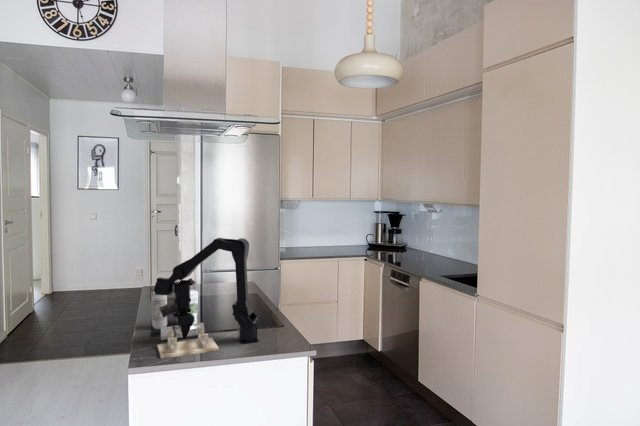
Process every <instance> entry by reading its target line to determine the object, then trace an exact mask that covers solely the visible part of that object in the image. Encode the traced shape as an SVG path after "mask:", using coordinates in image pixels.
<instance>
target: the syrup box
mask: <svg viewBox="0 0 640 426" xmlns="http://www.w3.org/2000/svg"><path fill="white" fill-rule="evenodd" d="M190 298H191V302H190V309H191V312H188V313H191V314H193V316H194V322H193V324H196V323H199V291H197V290H195V289H191V288H190Z"/></svg>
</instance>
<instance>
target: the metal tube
mask: <svg viewBox="0 0 640 426" xmlns="http://www.w3.org/2000/svg"><path fill="white" fill-rule="evenodd" d="M198 327H204V328H205V324H204V322H198V323H196V324H192V326H191V328H190V330H189V332H188V335H187V337H186V338H185V339H187V338H193V337H198ZM172 330H173V331H174V337H176V338H177V340H179V339H183V336H182V331H181V326H179V325H178V324H177V325H171V326H166V327H161V329H160V340H161V341H168V331H172Z"/></svg>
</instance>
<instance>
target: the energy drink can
mask: <svg viewBox="0 0 640 426" xmlns="http://www.w3.org/2000/svg"><path fill="white" fill-rule="evenodd" d="M166 304H168V295H156V294H155V292H154V291H153V293H152V296H151V327H153V328H152V329H154V330H161V327H167V325H168V315H167V316H166V317H163V316H162V314H161V311H160V309H159V308H160V307H161V306H164V305H166Z"/></svg>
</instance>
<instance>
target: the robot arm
mask: <svg viewBox="0 0 640 426" xmlns="http://www.w3.org/2000/svg"><path fill="white" fill-rule="evenodd" d="M219 250H223V251H226V252H230V253H231V256H232V259H233V261H234V265H235V267H234V268H235V283H236V284H235V285H236V301H234V303H233V304H232V316H233V317H234V320H235V321H236V322H237V324H238V325H239V328H238V330H237V332H238V333H237V334H238V338H237V339H238V340H239V342H240V343H241V344H251V343H257V342H259V341H260V340H259V339H258V324H257V322H258V319H259V316H258V315H257V314H256V313H255V312H254V311H253V307H252V306H253V305H252V302H251V300H250V298H249V287H248V284H249V283H248V267H247V260H248V257H249V250H250V243H249V241H248V240H247V239H246V238H242V237H241V238H238V239H233V238H223V237H217V238H215V239H213V240H212V241H211V242H210V243H209V244H207V245H206V246H205V247H204V248H202V250H200V251H199V252H198V253H196V254H194V256H193V257H191V258H189V259H187V260H185V261H184V262H182V263H179V264H177V265H176V266H174V267H173V269H172V274H171V275H170V277H157V278H156V282H155V285H154V288H153V292H155V294H156V295H167V296H172V295H173V294H174V298H173V301H171V302H167V304H166V305H164V306H161V307H160V308H159V309H160V311H161V314H162V316H163V317H166V316H167V317H168V316H169V315H171V314H172V316H174V318H175V321H176V324H177V326H178V325H179V326H181V331H182V336H183V338H182V339H184V340H185V339H187V338H188V337H187V335H188V332H189V330H190V328H191V326H192V324H193V322H194V316H193V314H191V313H188V312H191V309H190V302H191V298H190V289H191V286H193V285H195V284H196V281H195V280H193V278H191V277H190V275H192V274H193V272H194V271H195V270H196V269H197V268H198V267H199V265H201V263H203V262H204V261H206V260H207V259H208V258H210V257H211V256H212V255H214V254H215V253H216V252H218V251H219ZM188 277H190V278H189V279H186V278H188ZM186 337H187V338H186Z"/></svg>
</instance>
